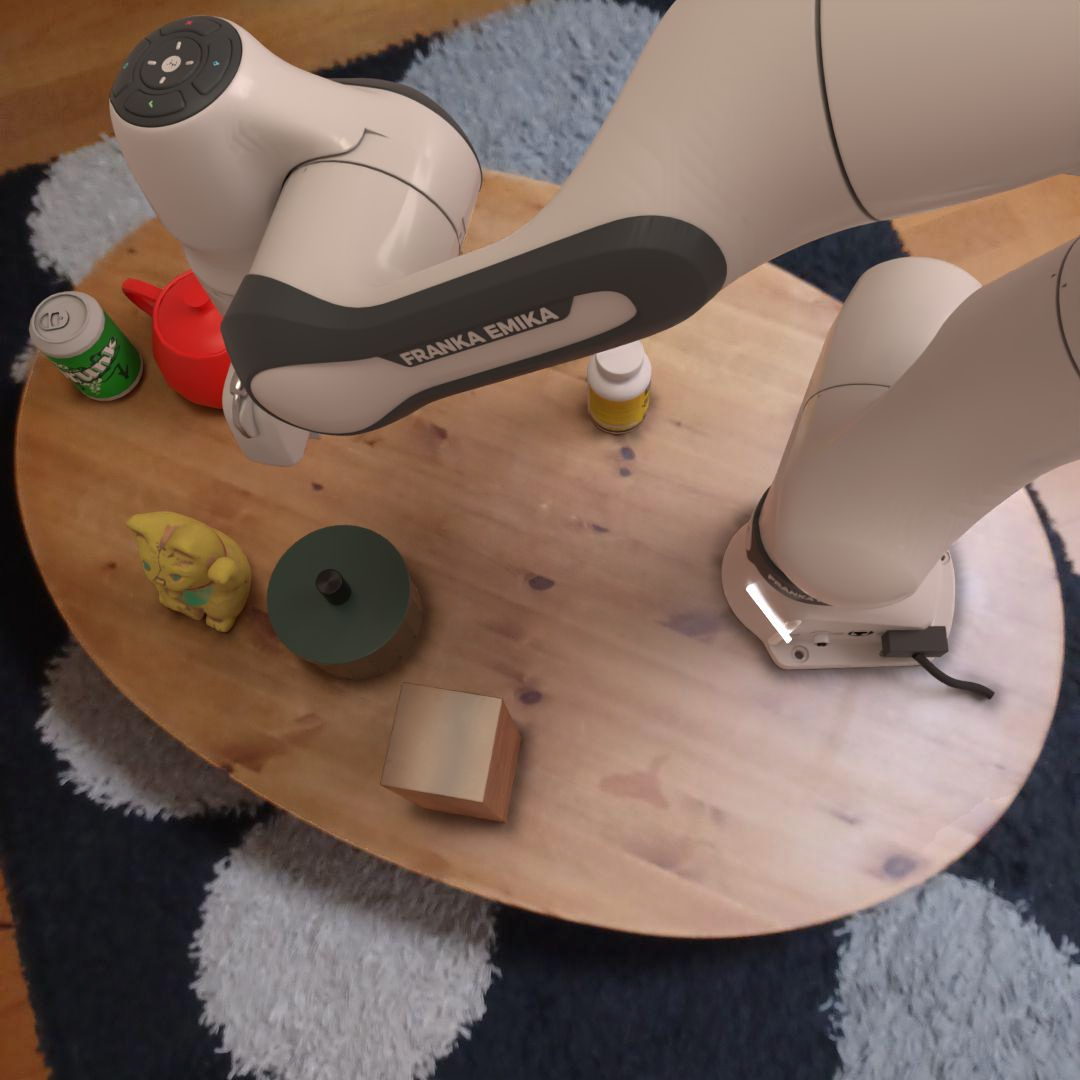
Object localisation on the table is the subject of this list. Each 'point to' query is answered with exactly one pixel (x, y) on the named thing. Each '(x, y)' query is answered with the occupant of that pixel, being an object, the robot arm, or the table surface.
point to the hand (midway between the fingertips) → (328, 373)
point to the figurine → (193, 566)
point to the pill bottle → (619, 388)
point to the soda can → (86, 345)
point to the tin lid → (339, 595)
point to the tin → (386, 648)
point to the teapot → (185, 336)
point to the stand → (452, 752)
